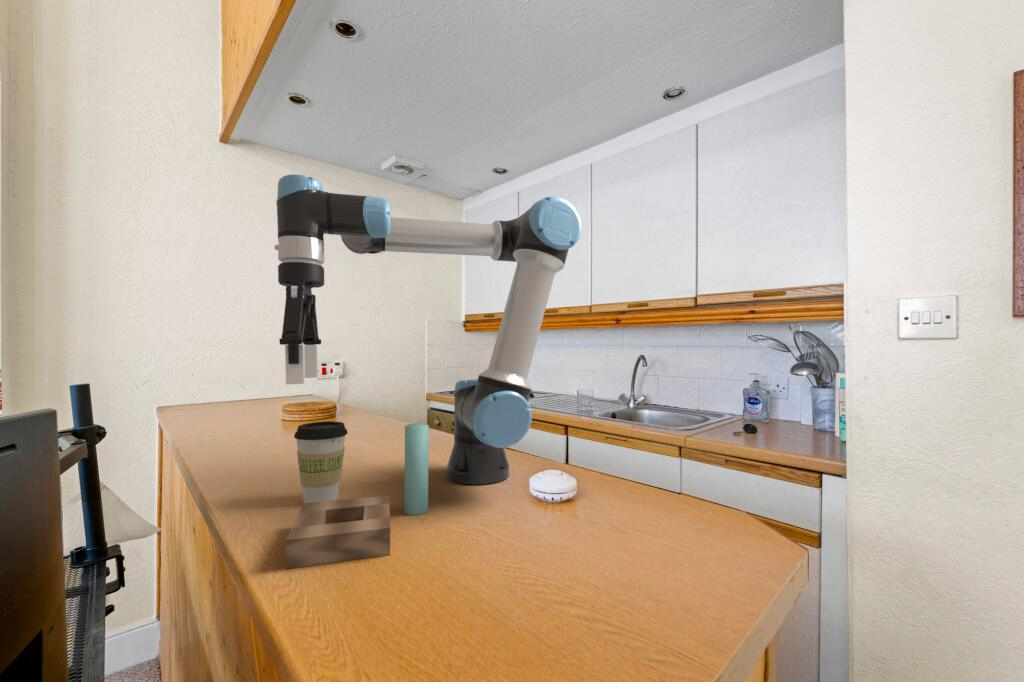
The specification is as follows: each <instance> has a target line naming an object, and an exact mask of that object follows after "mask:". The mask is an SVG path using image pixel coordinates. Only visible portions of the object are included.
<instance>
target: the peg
mask: <svg viewBox="0 0 1024 682" xmlns="http://www.w3.org/2000/svg"><path fill="white" fill-rule="evenodd" d="M429 432H430V425H429V424H427V423H410V424H406V425H404V479H403V480H404V484H403V485H404V486H403V487H404V489H403V490H404V492H403V494H404V495H403V496H404V499H403V500H404V503H403V505H404V506H403V507H404V508H403V513H404V514H406V515H408V516H419V515H424V514H426V513H427V512H428V510H429V458H430V457H429V448H430V446H429V445H430V444H429V443H430V442H429V439H430V438H429V437H430V433H429Z"/></svg>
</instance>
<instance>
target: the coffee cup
mask: <svg viewBox="0 0 1024 682" xmlns="http://www.w3.org/2000/svg"><path fill="white" fill-rule="evenodd" d="M347 434H348V429H347V428H346V426H345V423H344V422H343V421H342V422H341V421H335V420H334V421H332V420H331V421H327V420H326V421H315V422H313V421H312V422H307V423H303V424H299V425H298V427H297V429H296V432H295V433H294V436H293V438H294V439H296V446H297V451H296V453H297V455H296V456H297V463H298V469H299V470H298V471H299V472H298V473H299V480H300V485H301V490H302V492H301V493H302V499H303V504H305V503H315V502H326V501H336V500H338V494H339V487H340V486H339V485H340V482H341V477H342V470H343V462H344V454H345V441H346V440H345V439H346V435H347Z"/></svg>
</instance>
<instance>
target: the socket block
mask: <svg viewBox="0 0 1024 682" xmlns="http://www.w3.org/2000/svg"><path fill="white" fill-rule="evenodd" d="M390 510H391V509H390V495H379V496H369V497H359V498H350V499H347V498H346V499H336V500H335V501H326V502H315V503H305V504H304V503H303V504H302V506H301V508H300V510H299V512H298V514H297V516H296V518H295V520H294V522H293V524H292V526H291V528H290V530H289V533H288V534H287V536H286V537H285V541H284V543H285V551H284V553H285V554H284V556H285V557H284V563H285V564H284V568H285V569H284V570H288V569H295V568H302V567H309V566H311V567H312V566H317V565H324V564H332V563H338V562H339V563H340V562H345V561H353V560H362V559H368V558H377V557H384V556H391V516H390V515H391V514H390V513H391V512H390Z"/></svg>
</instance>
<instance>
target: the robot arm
mask: <svg viewBox="0 0 1024 682" xmlns="http://www.w3.org/2000/svg"><path fill="white" fill-rule="evenodd" d="M276 196H277V198H276V200H275V201H276V202H275V203H276V214H277V215H276V217H277V218H276V219H277V243H278V244H275V245H274V250H276V251H277V252H278V253H277V260H278V261H279V262H280V263H279V264H278V266H277V277H278V278H277V282H278V284H279V285H280V286H282V287H283V286H284V287H285V304H284V312H283V313H284V315H283V321H282V322H283V323H282V331H281V332H282V333H281V337H280V338H279V345H283V346H284V345H285V346H284V347H285V348H284V349H285V351H284V352H285V353H284V354H285V385H300V384H301V385H303V384H306V383H305V382H306V379H313V378H318V376H319V375H318V374H319V373H318V345H322V339H320V337H319V331H318V319H317V308H316V301H317V300H316V295H315V294H313V293H312V292H313V291H312V288H313V289H314V288H322V287H323V286H324V285H325V267H323V264H325V242H324V240H325V239H324V235H337V236H340V237H341V241H342V242H343V244H344V246H345V247H346V248H347V249H348V250H349V251H350V252H351V253H354V254H358V255H364V254H367V253H370V252H391V253H393V252H394V253H417V254H433V255H434V254H436V255H456V256H457V255H460V256H479V257H481V256H483V257H490V258H491V259H492V260H493V261H497V262H511V263H512V262H514V263H516V267H515V272H514V275H513V278H512V282H511V286H510V288H509V292H508V295H507V296H508V297H507V300H506V303H505V307H504V311H503V314H502V318H501V321H500V325H499V328H498V333H497V336H496V339H495V343H494V345H493V349H492V353H491V357H490V360H489V364H488V368H486V369H485V370H483V371H482V372H480V373H479V374H478V378H473V379H462V380H459V381H457V382H456V383H455V385H454V392H453V397H454V411H453V412H454V416H453V417H454V420H453V421H454V422H453V423H454V424H453V425H454V426H453V428H454V433H453V436H454V440H453V441H454V442H453V447H452V449H451V453H450V456H449V458H448V461H447V464H446V478H447V479H448V480H449V481H451V482H455V483H459V484H463V485H476V486H478V485H489V484H496V483H499V482H501V481H504V480H506V479H507V478H509V476H510V463H509V460H508V456H507V453H506V450H505V448H509V447H512V446H514V445H516V444H518V443H520V441H521V440H523V439H524V438H525V436H526V435H527V434H528V432H529V431H530V427H531V425H532V420H533V418H532V417H533V416H532V415H533V414H532V409H531V407H530V404H529V401H530V400H529V399H530V396H531V393H532V386H531V383H529V380H528V376H529V372H530V369H531V366H532V365H531V364H532V360H533V358H534V353H535V350H536V345H537V342H538V338H539V334H540V331H541V326H542V324H543V319H544V316H545V312H546V309H547V305H548V301H549V297H550V293H551V290H552V285H553V282H554V278H555V275H556V274H557V273H559V272H560V271H562V270H563V269H565V264H566V261H567V258H568V253H569V249H570V248H573V247H574V246H575V245H576V243H577V242H578V241H579V239H581V235H582V231H583V226H582V219H581V217H580V216H581V215H580V214H578V211H577V209H576V208H575V206H574V205H573V204H572V203H571V202H570V201H568V200H566V199H565V198H562V197H559V196H555V195H554V196H547V197H544V198H542V199H540V200H537V201H536V202H534V203H533V204H532V206H531V207H529V209H528V210H526V211H525V212H524V213H522V214H521V215H519V217H517V218H514V219H509V220H494V221H493V222H492V223H477V222H464V221H462V222H460V221H451V220H450V221H449V220H448V221H447V220H435V219H433V220H432V219H421V218H420V219H418V218H403V217H391V205H390V202H389V201H388V199H386V198H383V197H376V196H372V195H357V194H345V193H335V192H328V191H325V190H324V186H323V184H322V182H321V181H320V180H318V179H317V178H314V177H310V176H306V175H304V174H294V173H293V174H285V175H284V176H282V177H280V179H279V180H278V182H277V195H276Z"/></svg>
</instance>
